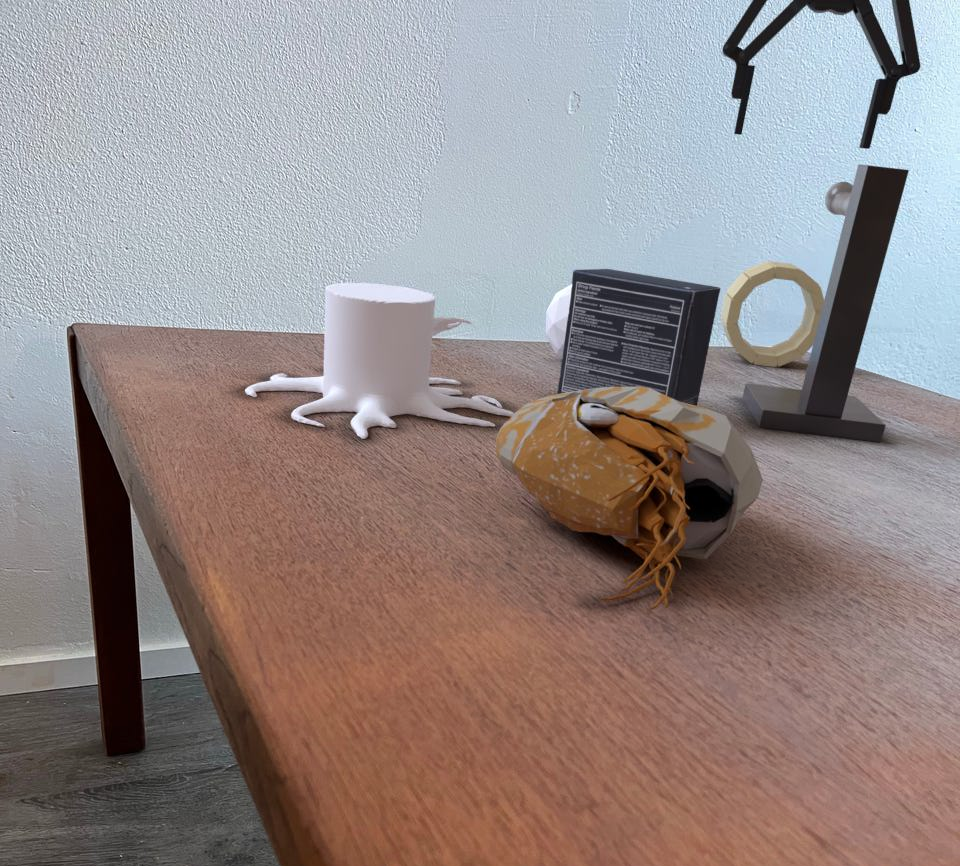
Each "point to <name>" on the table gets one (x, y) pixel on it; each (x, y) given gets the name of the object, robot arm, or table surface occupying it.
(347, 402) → the tree stump
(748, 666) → the table surface
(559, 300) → the geometric ball
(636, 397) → the nautilus
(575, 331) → the small box
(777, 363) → the tape roll
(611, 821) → the table surface
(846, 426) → the tape stand
